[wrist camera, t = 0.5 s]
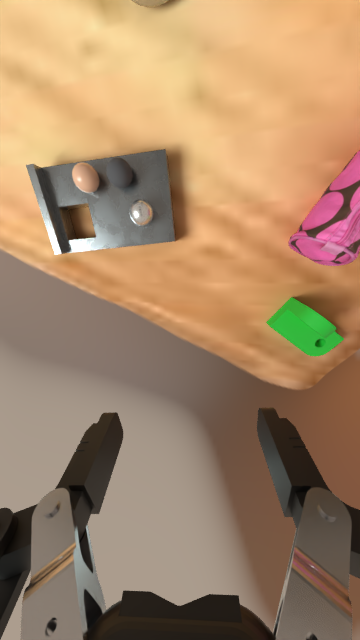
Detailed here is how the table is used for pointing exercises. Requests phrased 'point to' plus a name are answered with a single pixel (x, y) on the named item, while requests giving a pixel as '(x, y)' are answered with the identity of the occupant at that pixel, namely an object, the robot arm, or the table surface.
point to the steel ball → (141, 212)
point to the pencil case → (333, 221)
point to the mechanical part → (305, 328)
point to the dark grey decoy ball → (119, 172)
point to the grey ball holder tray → (106, 203)
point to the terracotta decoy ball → (85, 177)
